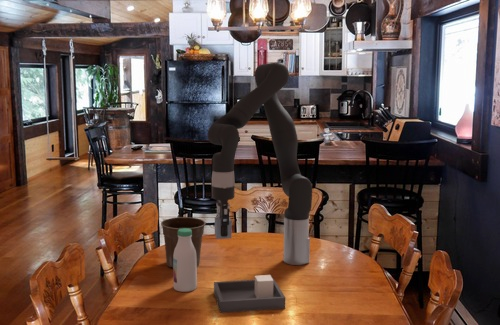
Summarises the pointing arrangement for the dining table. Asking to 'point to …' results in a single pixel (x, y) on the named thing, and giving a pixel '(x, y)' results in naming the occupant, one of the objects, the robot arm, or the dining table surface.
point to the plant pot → (171, 235)
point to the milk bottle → (184, 262)
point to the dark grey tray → (245, 297)
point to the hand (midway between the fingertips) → (223, 233)
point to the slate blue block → (218, 229)
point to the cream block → (263, 286)
